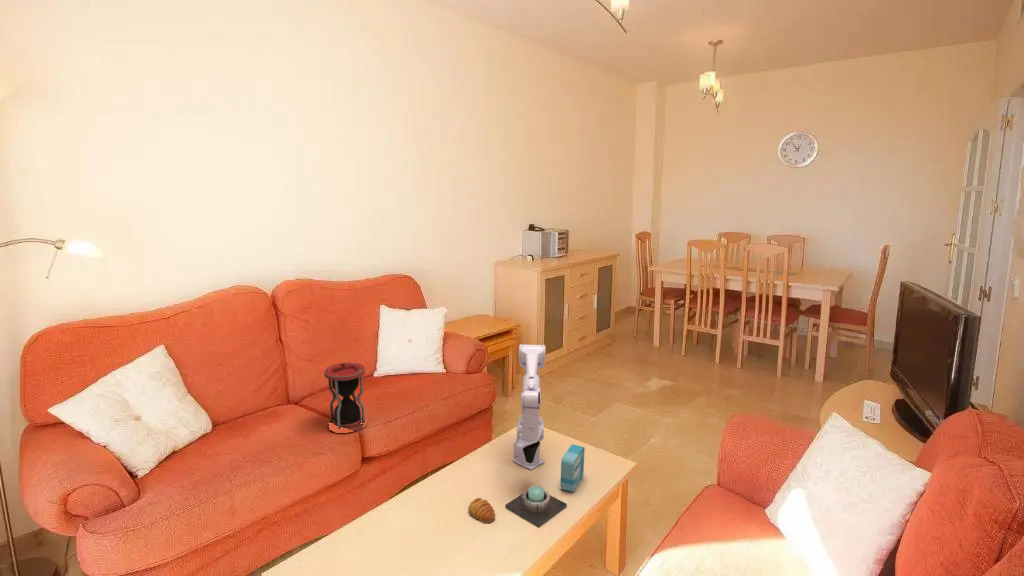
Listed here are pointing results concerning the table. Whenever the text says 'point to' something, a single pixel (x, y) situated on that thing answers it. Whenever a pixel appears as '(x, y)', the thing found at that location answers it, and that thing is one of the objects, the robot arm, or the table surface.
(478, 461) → the table surface
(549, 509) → the square base ring holder
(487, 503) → the pastry
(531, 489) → the teal rounded cylinder
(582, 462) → the data package
